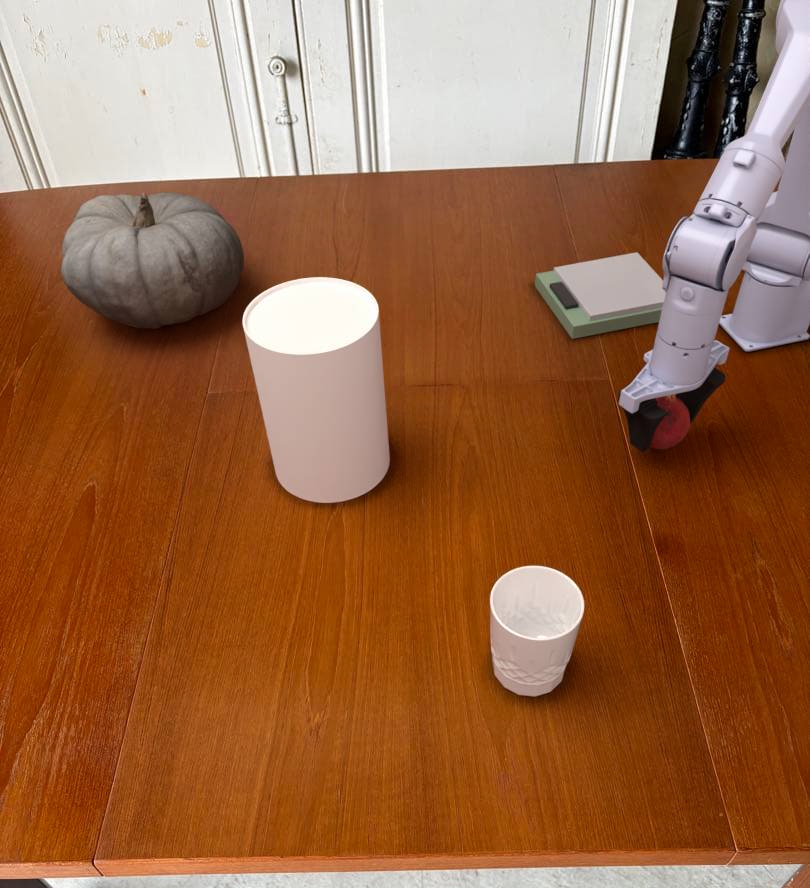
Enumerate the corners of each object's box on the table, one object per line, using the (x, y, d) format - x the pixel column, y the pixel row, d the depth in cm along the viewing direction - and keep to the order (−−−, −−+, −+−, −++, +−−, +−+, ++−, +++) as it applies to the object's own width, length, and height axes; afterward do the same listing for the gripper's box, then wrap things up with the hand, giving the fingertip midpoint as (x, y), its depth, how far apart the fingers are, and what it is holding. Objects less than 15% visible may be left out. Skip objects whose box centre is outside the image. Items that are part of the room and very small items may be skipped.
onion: (682, 466, 93) (698, 411, 87) (631, 461, 94) (643, 406, 88) (681, 433, 97) (697, 378, 91) (632, 428, 97) (644, 373, 91)
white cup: (480, 635, 79) (483, 569, 71) (561, 627, 79) (572, 561, 71) (493, 706, 73) (498, 644, 66) (579, 698, 74) (594, 635, 66)
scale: (635, 267, 121) (638, 249, 119) (680, 317, 112) (684, 300, 110) (534, 286, 119) (536, 268, 117) (572, 339, 110) (574, 321, 108)
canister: (301, 518, 90) (271, 370, 75) (258, 447, 98) (223, 301, 83) (409, 476, 94) (402, 327, 79) (359, 410, 102) (344, 264, 87)
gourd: (121, 366, 105) (79, 229, 95) (51, 317, 121) (8, 195, 111) (282, 309, 117) (261, 182, 107) (199, 271, 133) (173, 157, 123)
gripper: (704, 292, 88) (677, 392, 98) (606, 341, 83) (589, 441, 93) (757, 321, 84) (723, 422, 94) (658, 374, 79) (634, 475, 89)
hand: (660, 434), depth 94 cm, fingers open, 6 cm apart
